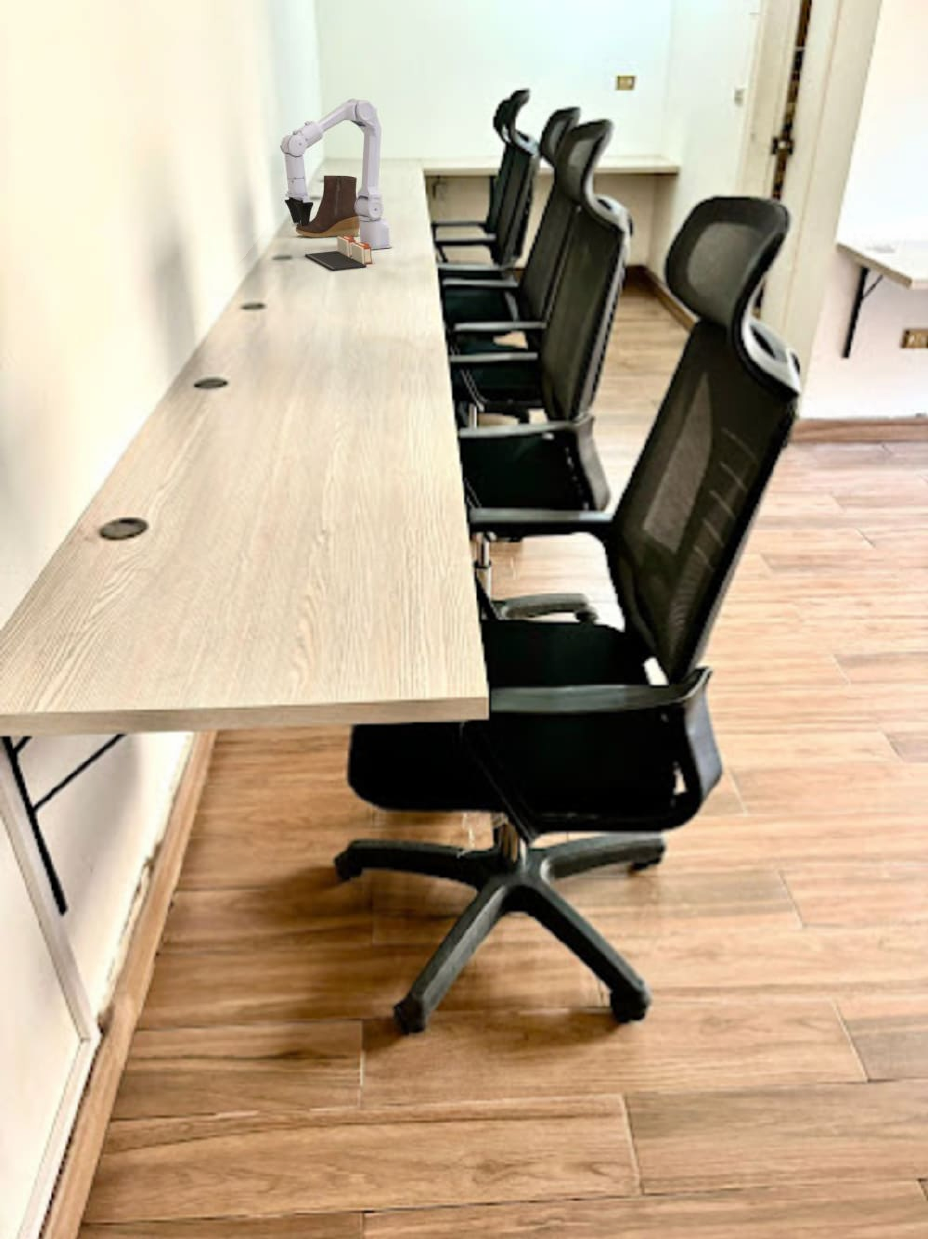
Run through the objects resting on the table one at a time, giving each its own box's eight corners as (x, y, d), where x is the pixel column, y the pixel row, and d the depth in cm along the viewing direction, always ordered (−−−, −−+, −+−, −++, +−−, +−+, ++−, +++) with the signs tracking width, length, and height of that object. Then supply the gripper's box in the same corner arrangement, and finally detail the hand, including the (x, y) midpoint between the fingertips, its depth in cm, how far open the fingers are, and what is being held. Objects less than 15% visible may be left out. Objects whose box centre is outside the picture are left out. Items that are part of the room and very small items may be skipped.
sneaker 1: (350, 251, 316) (348, 235, 313) (359, 256, 308) (358, 239, 306) (338, 252, 314) (336, 236, 312) (347, 257, 307) (346, 240, 304)
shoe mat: (337, 252, 314) (336, 250, 314) (366, 267, 293) (366, 265, 292) (305, 256, 311) (304, 253, 310) (332, 271, 289) (332, 268, 288)
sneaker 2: (364, 258, 305) (363, 241, 302) (375, 263, 298) (373, 246, 295) (352, 259, 303) (350, 243, 301) (362, 264, 296) (361, 247, 293)
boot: (299, 234, 347) (293, 173, 337) (364, 233, 345) (360, 173, 334) (293, 238, 340) (287, 176, 329) (360, 238, 337) (355, 176, 327)
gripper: (276, 176, 301) (281, 222, 308) (292, 181, 290) (297, 228, 297) (297, 175, 304) (301, 220, 311) (314, 179, 293) (318, 226, 300)
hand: (301, 224), depth 304 cm, fingers open, 7 cm apart
